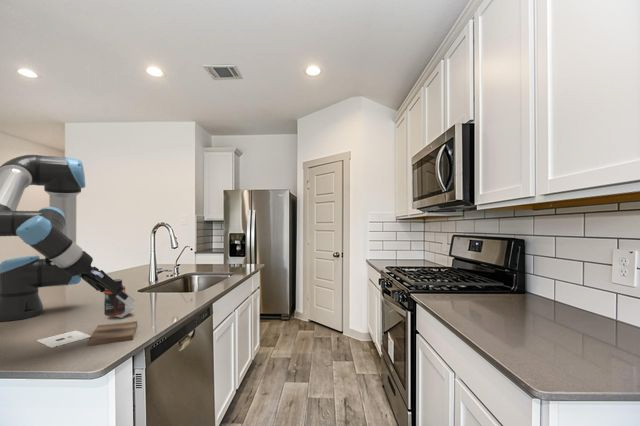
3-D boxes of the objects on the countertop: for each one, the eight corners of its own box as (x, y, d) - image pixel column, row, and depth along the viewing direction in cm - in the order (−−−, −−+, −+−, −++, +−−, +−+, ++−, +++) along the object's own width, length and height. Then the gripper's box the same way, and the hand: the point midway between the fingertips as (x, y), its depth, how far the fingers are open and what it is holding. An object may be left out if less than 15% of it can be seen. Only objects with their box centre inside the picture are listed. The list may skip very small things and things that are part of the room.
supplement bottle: (127, 311, 112) (128, 278, 112) (121, 316, 106) (122, 281, 106) (108, 312, 111) (109, 278, 111) (100, 317, 105) (101, 282, 105)
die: (138, 316, 131) (136, 294, 136) (125, 311, 123) (124, 288, 128) (117, 324, 130) (116, 302, 135) (103, 319, 122) (103, 296, 127)
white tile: (36, 340, 102) (36, 340, 102) (76, 330, 112) (76, 330, 112) (51, 347, 97) (51, 347, 97) (92, 336, 106) (92, 336, 106)
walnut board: (98, 329, 113) (98, 325, 113) (137, 325, 118) (137, 320, 118) (87, 345, 99) (87, 340, 99) (132, 339, 104) (132, 335, 104)
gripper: (47, 266, 100) (103, 307, 114) (77, 271, 91) (134, 315, 104) (67, 248, 105) (119, 290, 119) (98, 251, 95) (150, 296, 109)
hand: (126, 302), depth 111 cm, fingers closed on supplement bottle, 6 cm apart
